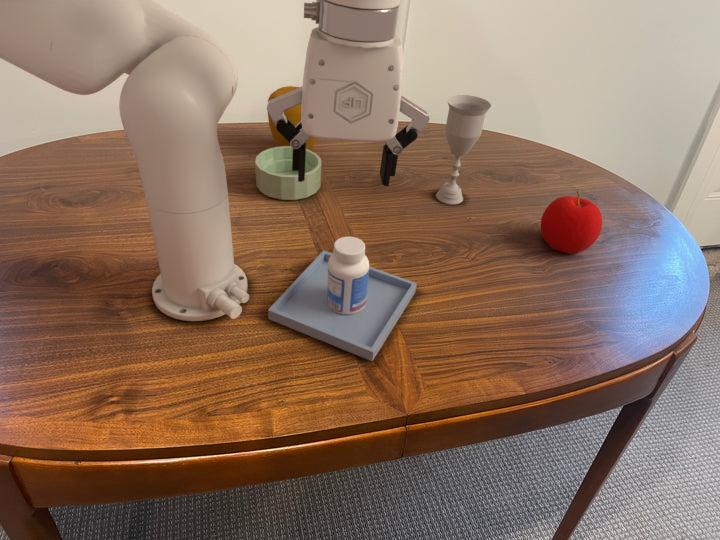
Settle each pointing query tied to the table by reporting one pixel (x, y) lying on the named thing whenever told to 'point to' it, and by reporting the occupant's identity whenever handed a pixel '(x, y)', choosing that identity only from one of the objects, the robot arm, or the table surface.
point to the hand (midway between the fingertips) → (342, 178)
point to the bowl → (286, 174)
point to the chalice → (461, 137)
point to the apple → (291, 115)
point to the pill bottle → (347, 276)
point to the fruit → (571, 224)
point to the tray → (349, 332)
